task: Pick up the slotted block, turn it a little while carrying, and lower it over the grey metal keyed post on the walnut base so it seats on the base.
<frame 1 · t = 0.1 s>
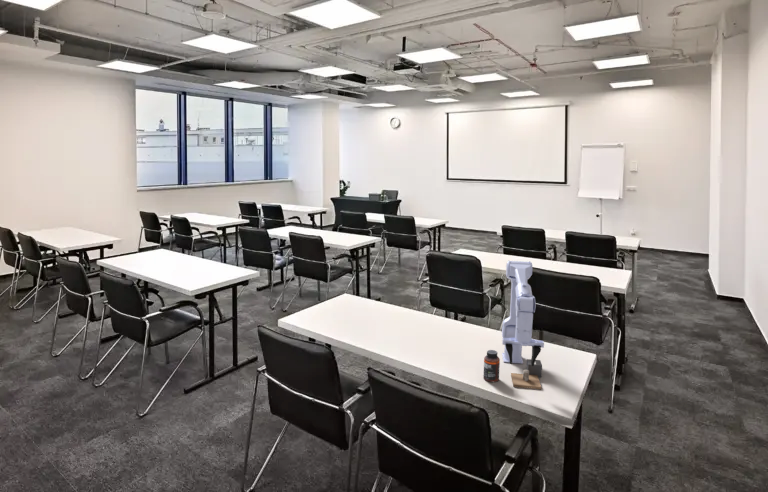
hand: (521, 363, 172), 10 cm above the table, fingers open, 7 cm apart
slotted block: (533, 374, 187), on the table
supplement bottle: (491, 379, 182), on the table
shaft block: (525, 382, 180), on the table
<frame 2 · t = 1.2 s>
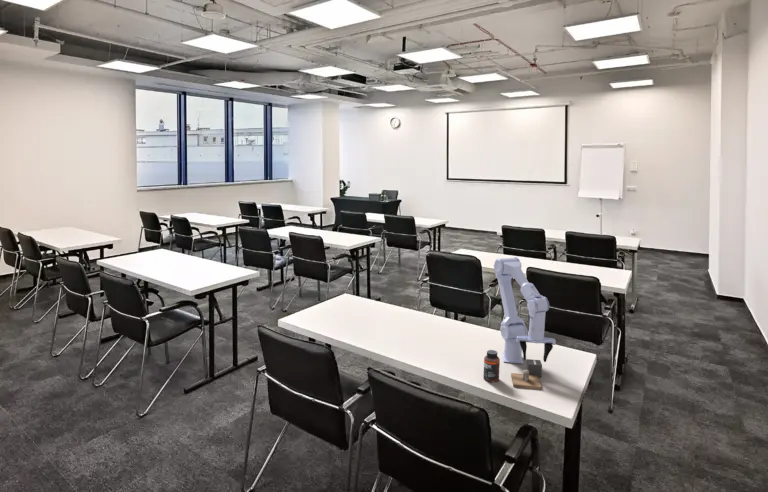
hand: (534, 360, 186), 6 cm above the table, fingers open, 7 cm apart
nothing on the table moved.
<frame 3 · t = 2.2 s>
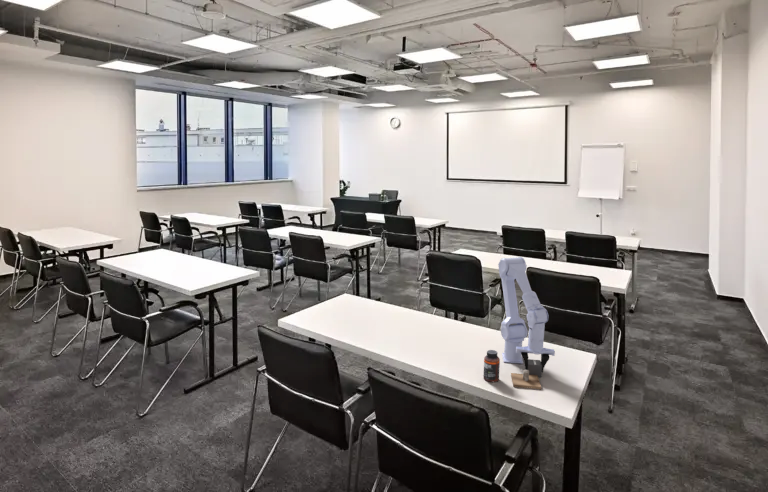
hand: (533, 370, 187), 1 cm above the table, fingers closed on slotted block, 5 cm apart
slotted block: (533, 374, 187), on the table, touching gripper
everything else where it was.
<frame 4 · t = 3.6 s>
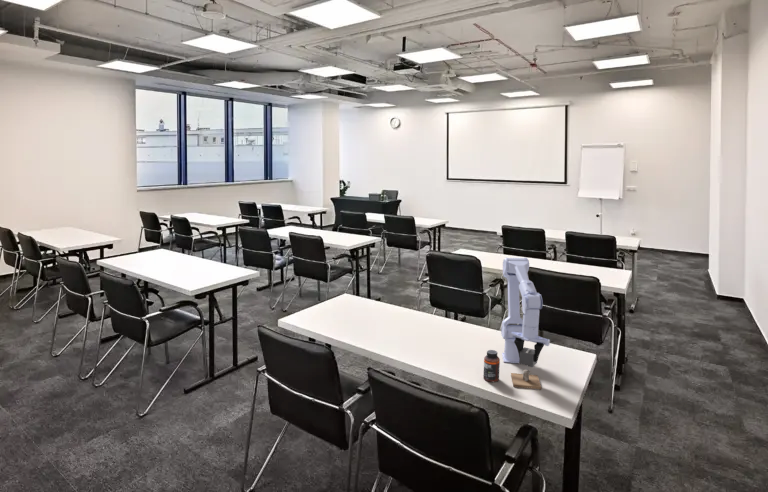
hand: (528, 359, 179), 9 cm above the table, fingers closed on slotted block, 5 cm apart
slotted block: (528, 363, 180), point 7 cm above the table, touching gripper
everything else where it was.
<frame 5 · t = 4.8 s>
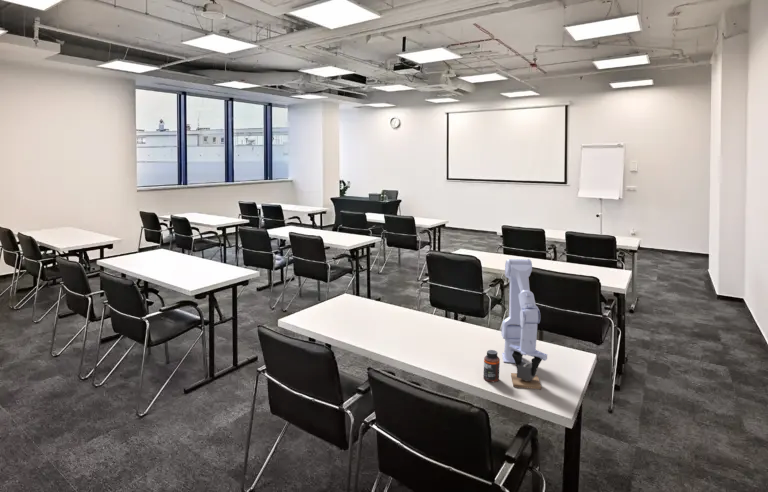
hand: (526, 372, 179), 4 cm above the table, fingers closed on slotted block, 5 cm apart
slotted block: (526, 376, 180), point 2 cm above the table, touching gripper
everything else where it was.
when the fingers open (3 cm above the table, at t = 5.4 s): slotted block stays where it is, resting on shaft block.
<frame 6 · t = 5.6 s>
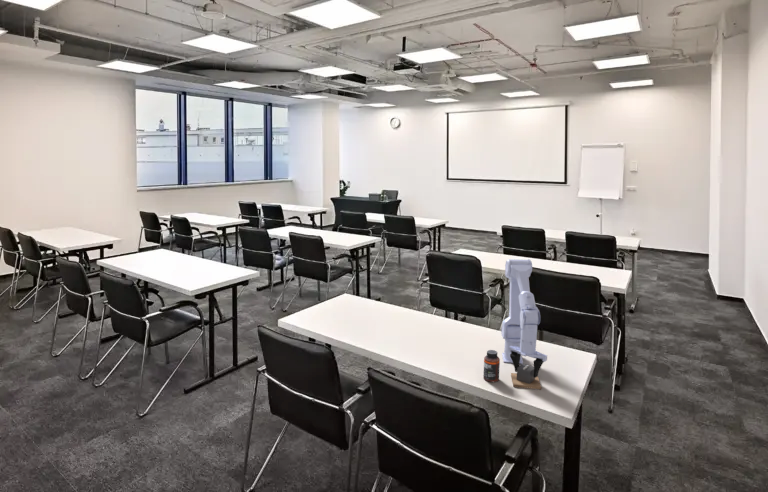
hand: (526, 373, 179), 3 cm above the table, fingers open, 7 cm apart
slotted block: (525, 379, 180), point 1 cm above the table, touching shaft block
everything else where it was.
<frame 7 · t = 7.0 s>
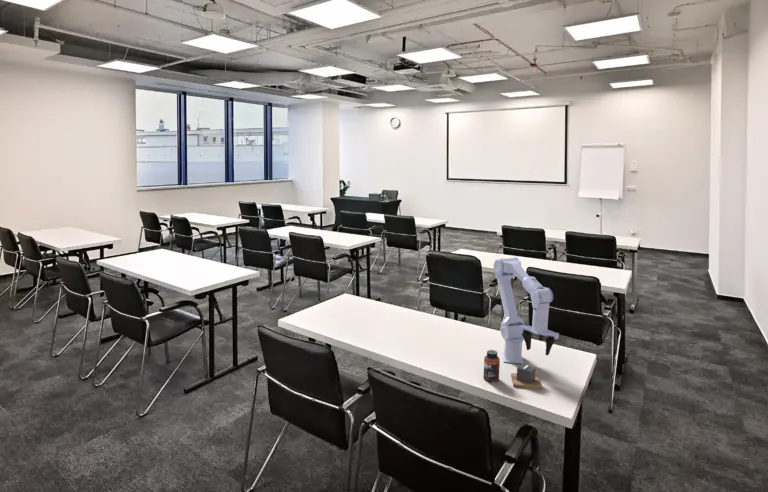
hand: (537, 351, 184), 10 cm above the table, fingers open, 7 cm apart
nothing on the table moved.
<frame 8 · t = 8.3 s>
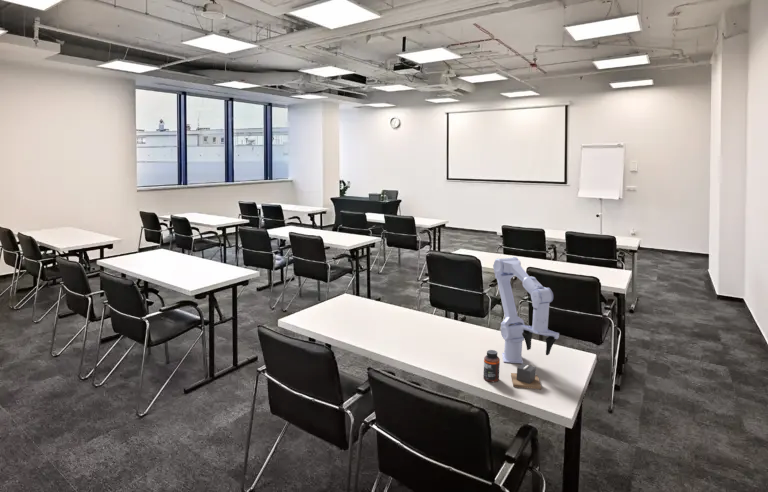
hand: (538, 351, 184), 10 cm above the table, fingers open, 7 cm apart
nothing on the table moved.
at the end: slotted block 0.1 cm off-centre on the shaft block, point 1.0 cm above the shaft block's base; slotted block tilted 0°; the gripper is holding nothing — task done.
